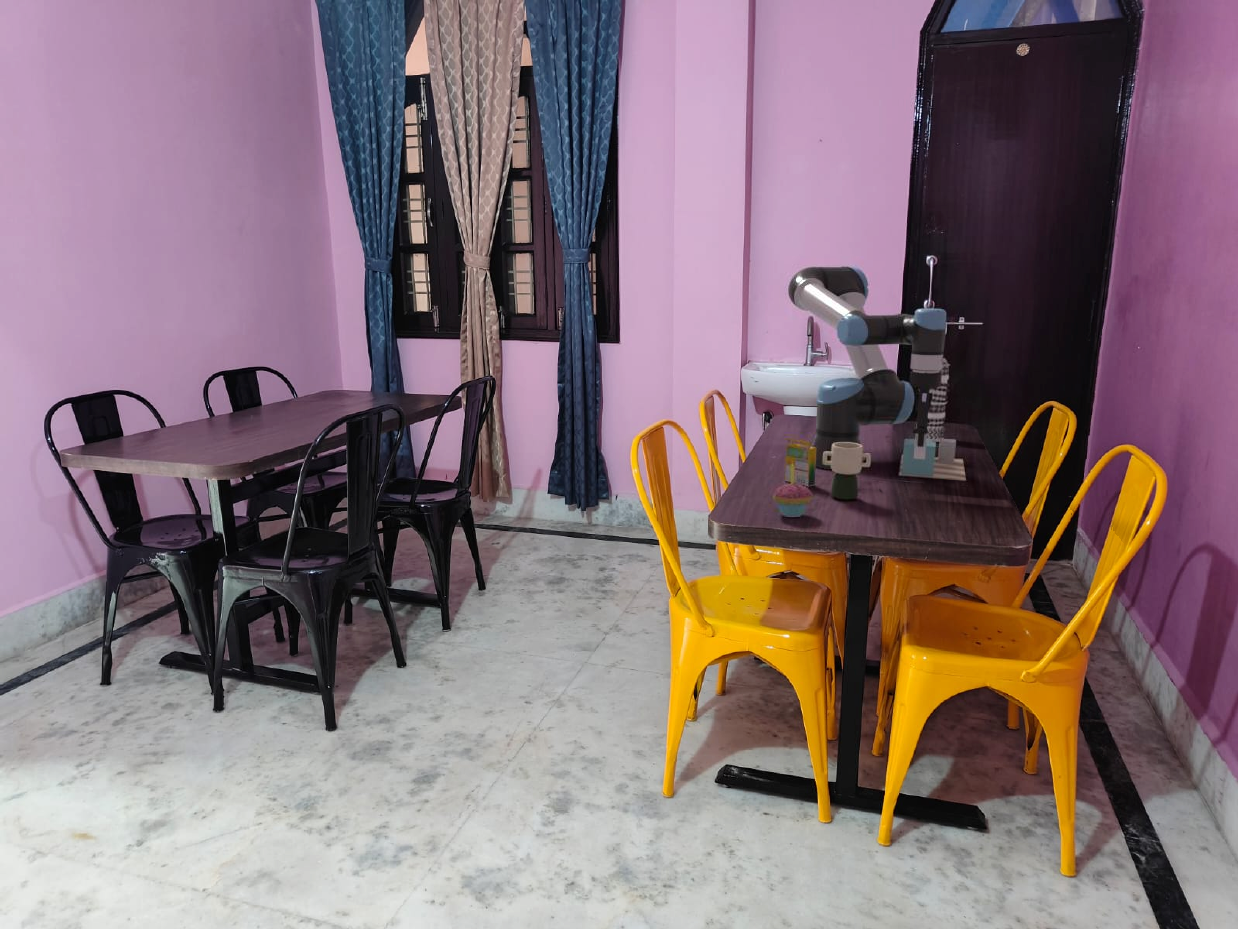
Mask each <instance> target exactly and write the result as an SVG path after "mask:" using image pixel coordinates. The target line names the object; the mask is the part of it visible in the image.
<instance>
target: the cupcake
mask: <svg viewBox="0 0 1238 929" xmlns="http://www.w3.org/2000/svg"><path fill="white" fill-rule="evenodd" d="M772 499H773V500H774V501H775V502H776V504H777V507H778V509H779V514H780V513H782V514H784V515H787V516H799V515H802V514H803V515H804V512H805V510H806V507H807V506H808V504H810V503H811V502H812V501H813V492H812V491H811V490H810V489H809V487H806V486H802V485H798V484H794V465H793V461H792V465H791V483H784V484H781V485H780V486H778V487H777V488H775V490H774V493H773V496H772ZM803 515H802V516H803Z"/></svg>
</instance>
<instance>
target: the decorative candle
mask: <svg viewBox="0 0 1238 929" xmlns="http://www.w3.org/2000/svg"><path fill="white" fill-rule="evenodd" d="M949 366H951V364H949V363H948V361H947V360H946V361H945V362H942V370H940V371H939V372H941V373H942V378H941V386H940V387H938V388H930V390H929V393H932V395H933V396H932V402H931V408H930V411H928V419H930V423H927V429H928V430H927V440H933V441H936V443H938V442H939V443H940V439H945V438H944V436H945V433H944V432H945V431H946V429H945V427H944V426H946V423H945V421H946V420H947V419H946V410H945V409H946V404H948V400H947V399H948V398H949V395H947V393H948V392H950V389H949V388H950V387H951V384H950V383H948V381H950V380H951V378H950V376H949V370H950V369H949ZM918 391H919V392H920V390H919V388H918ZM919 392H918V393H919ZM916 424H917V421H916ZM914 434H916V433H914Z"/></svg>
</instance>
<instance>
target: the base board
mask: <svg viewBox="0 0 1238 929" xmlns="http://www.w3.org/2000/svg"><path fill="white" fill-rule="evenodd" d="M902 463H903V454H901V458H900V464H899V471H898V476H901V477H903V476H904V477H916V478H929V479H930V478H931V479H940V480H942V479H943V480H954V481H967V478H966V472H965V464H964V459H963V458H954V464H943V463H938V456H937V457H936V456H935V460H934V471H933V477H930V476H918V475H905V474H902Z"/></svg>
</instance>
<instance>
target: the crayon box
mask: <svg viewBox="0 0 1238 929" xmlns="http://www.w3.org/2000/svg"><path fill="white" fill-rule="evenodd" d="M798 442H799V443H800V444H798ZM816 449H817V448H815V447H811V441H806V440H801V439H797V438H792V437H791V438H790V437H787V438H786V454H785V455H786V456H785V471H784V472H785V473H784V481H785V480H786V481H789V482H791V465H792V461H793V465H794V483H798V484H802V485H805V486H804V487H806V486H810V485H813V484H815V482H816V468H817V467H816ZM789 482H788V483H789ZM810 487H811V486H810Z"/></svg>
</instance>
